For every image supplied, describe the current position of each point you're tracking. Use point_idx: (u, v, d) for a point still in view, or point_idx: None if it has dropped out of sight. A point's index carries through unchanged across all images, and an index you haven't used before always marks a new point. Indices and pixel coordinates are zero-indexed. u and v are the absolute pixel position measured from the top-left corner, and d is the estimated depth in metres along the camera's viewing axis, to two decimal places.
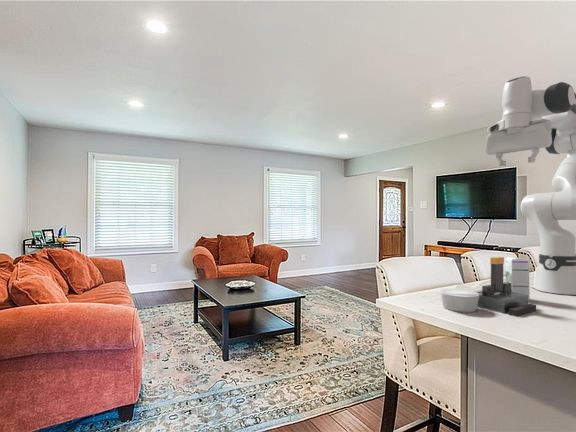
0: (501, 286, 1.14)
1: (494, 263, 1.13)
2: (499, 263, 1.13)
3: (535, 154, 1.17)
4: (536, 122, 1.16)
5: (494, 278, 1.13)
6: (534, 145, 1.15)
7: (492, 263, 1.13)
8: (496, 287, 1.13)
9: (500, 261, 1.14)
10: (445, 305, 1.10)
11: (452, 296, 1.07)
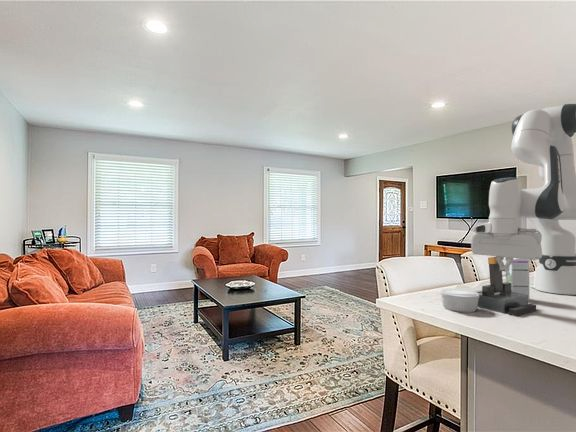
0: (501, 286, 1.14)
1: (492, 263, 1.13)
2: (497, 263, 1.14)
3: (509, 263, 1.11)
4: (525, 231, 1.07)
5: (493, 278, 1.13)
6: (523, 257, 1.06)
7: (490, 263, 1.14)
8: (496, 287, 1.13)
9: None
10: (445, 305, 1.10)
11: (452, 296, 1.07)
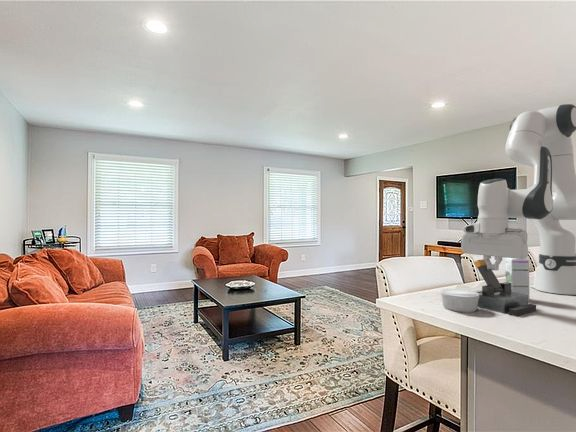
0: (499, 285, 1.15)
1: (479, 265, 1.17)
2: (484, 264, 1.18)
3: (498, 263, 1.14)
4: (512, 231, 1.10)
5: (487, 278, 1.15)
6: (510, 256, 1.09)
7: (478, 266, 1.17)
8: (494, 286, 1.13)
9: (484, 262, 1.18)
10: (445, 305, 1.10)
11: (452, 296, 1.07)
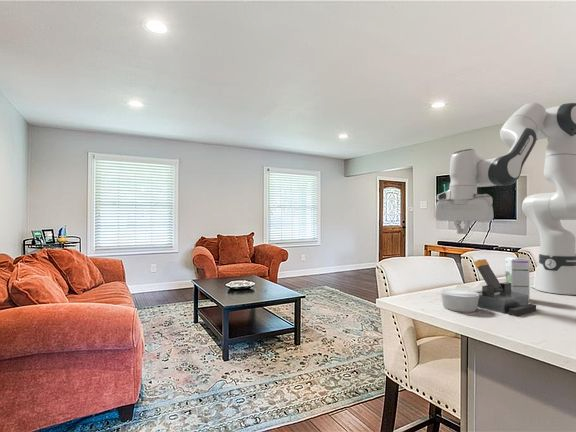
0: (499, 285, 1.15)
1: (479, 265, 1.17)
2: (484, 264, 1.18)
3: (467, 227, 1.23)
4: (479, 196, 1.19)
5: (487, 278, 1.15)
6: (477, 219, 1.18)
7: (478, 266, 1.17)
8: (494, 286, 1.13)
9: (484, 262, 1.18)
10: (445, 305, 1.10)
11: (452, 296, 1.07)
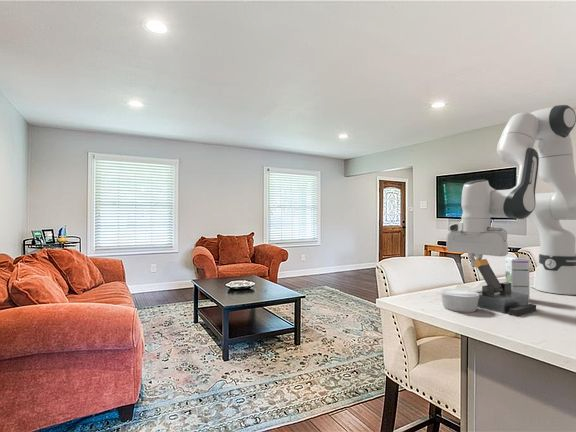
0: (499, 285, 1.15)
1: (480, 265, 1.17)
2: (484, 264, 1.18)
3: None
4: (493, 229, 1.15)
5: (487, 278, 1.15)
6: (490, 253, 1.14)
7: (478, 266, 1.17)
8: (494, 286, 1.13)
9: (484, 262, 1.18)
10: (445, 305, 1.10)
11: (452, 296, 1.07)
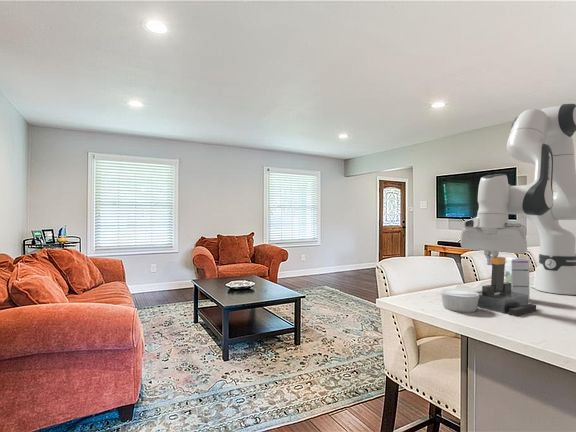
0: (501, 286, 1.14)
1: (496, 263, 1.12)
2: (500, 263, 1.13)
3: (494, 257, 1.14)
4: (511, 225, 1.09)
5: (495, 278, 1.13)
6: (508, 250, 1.09)
7: (493, 263, 1.13)
8: (496, 287, 1.13)
9: (502, 261, 1.13)
10: (445, 305, 1.10)
11: (452, 296, 1.07)
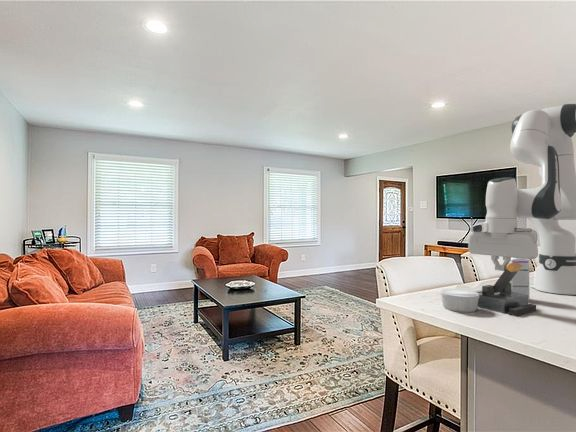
0: (503, 288, 1.14)
1: (510, 270, 1.09)
2: (514, 271, 1.09)
3: (506, 263, 1.11)
4: (521, 230, 1.08)
5: (501, 282, 1.11)
6: (519, 256, 1.07)
7: (507, 269, 1.09)
8: (498, 289, 1.12)
9: (516, 269, 1.09)
10: (445, 305, 1.10)
11: (452, 296, 1.07)
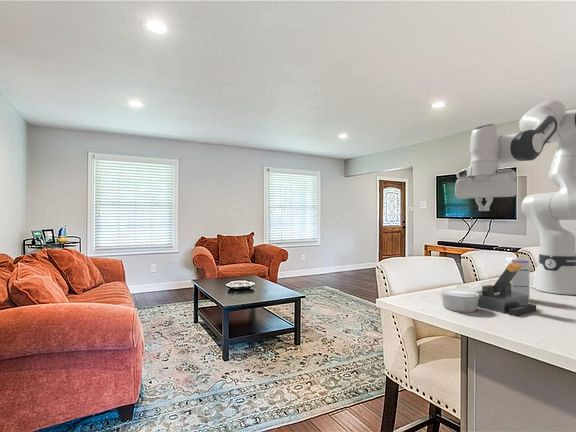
0: (503, 288, 1.14)
1: (510, 270, 1.09)
2: (514, 271, 1.09)
3: (489, 203, 1.21)
4: (502, 171, 1.17)
5: (501, 282, 1.11)
6: (499, 194, 1.16)
7: (507, 269, 1.09)
8: (498, 289, 1.12)
9: (516, 269, 1.09)
10: (445, 305, 1.10)
11: (452, 296, 1.07)
